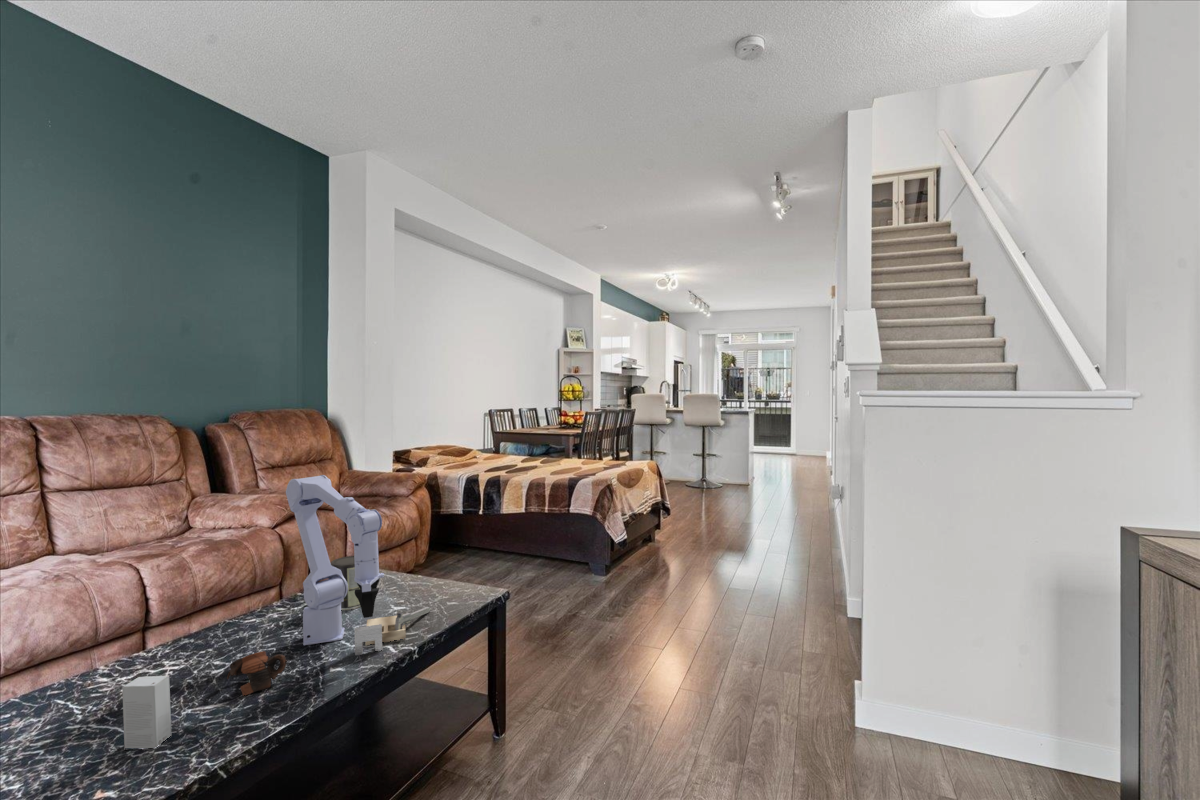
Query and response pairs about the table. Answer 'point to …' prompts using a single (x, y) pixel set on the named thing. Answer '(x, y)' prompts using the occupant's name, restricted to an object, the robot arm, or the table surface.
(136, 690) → the skincare box
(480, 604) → the table surface
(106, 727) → the table surface
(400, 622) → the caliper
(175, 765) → the table surface
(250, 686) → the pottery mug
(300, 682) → the table surface
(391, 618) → the tan wooden flat block
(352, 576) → the coffee can
